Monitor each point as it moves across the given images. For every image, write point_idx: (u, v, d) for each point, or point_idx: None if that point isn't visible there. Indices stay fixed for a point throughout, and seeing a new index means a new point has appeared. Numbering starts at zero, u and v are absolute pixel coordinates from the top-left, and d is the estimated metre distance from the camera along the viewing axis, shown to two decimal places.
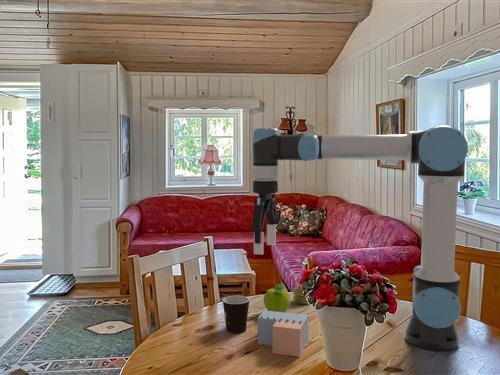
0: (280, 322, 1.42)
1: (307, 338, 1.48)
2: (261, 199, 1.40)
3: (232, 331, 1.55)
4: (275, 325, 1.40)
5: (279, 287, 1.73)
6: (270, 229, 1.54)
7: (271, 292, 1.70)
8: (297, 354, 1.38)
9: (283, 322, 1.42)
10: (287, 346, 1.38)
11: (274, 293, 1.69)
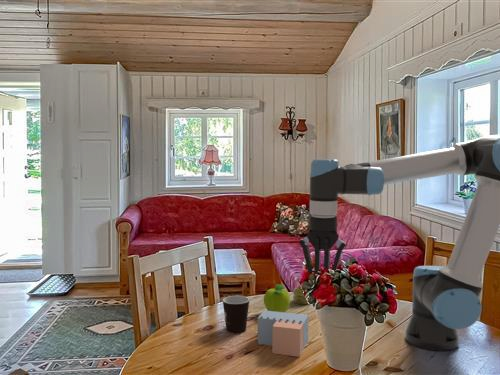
0: (280, 322, 1.42)
1: (307, 338, 1.48)
2: None
3: (232, 331, 1.55)
4: (275, 325, 1.40)
5: (279, 287, 1.73)
6: None
7: (271, 292, 1.70)
8: (297, 354, 1.38)
9: (283, 322, 1.42)
10: (287, 346, 1.38)
11: (274, 293, 1.69)
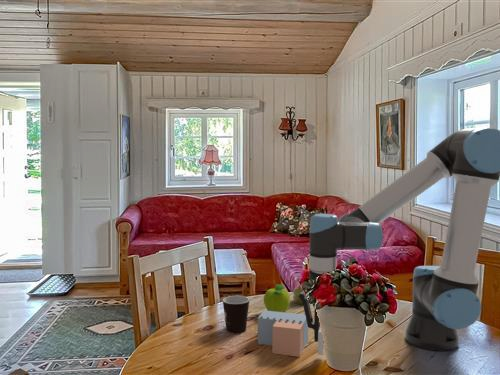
0: (280, 322, 1.42)
1: (307, 338, 1.48)
2: None
3: (232, 331, 1.55)
4: (275, 325, 1.40)
5: (279, 287, 1.73)
6: None
7: (271, 292, 1.70)
8: (297, 354, 1.38)
9: (283, 322, 1.42)
10: (287, 346, 1.38)
11: (274, 293, 1.69)
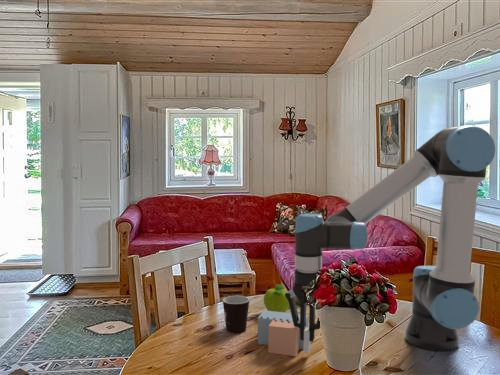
0: (276, 322, 1.43)
1: None
2: None
3: (232, 331, 1.55)
4: (271, 325, 1.40)
5: (279, 287, 1.73)
6: None
7: (271, 292, 1.70)
8: (293, 353, 1.38)
9: (279, 322, 1.42)
10: (283, 345, 1.39)
11: (274, 293, 1.69)
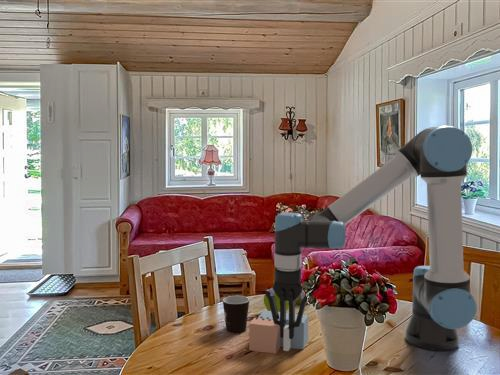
0: (257, 319, 1.44)
1: (307, 338, 1.48)
2: None
3: (232, 331, 1.55)
4: (252, 322, 1.42)
5: None
6: None
7: None
8: (273, 351, 1.40)
9: (260, 320, 1.44)
10: (264, 343, 1.41)
11: None
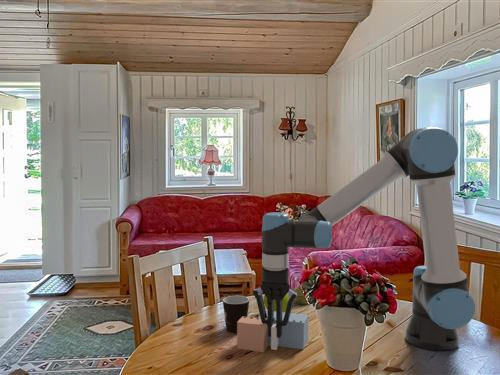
0: (245, 318, 1.45)
1: (307, 338, 1.48)
2: None
3: (232, 331, 1.55)
4: (240, 321, 1.43)
5: None
6: None
7: None
8: (261, 349, 1.41)
9: (248, 319, 1.45)
10: (251, 341, 1.42)
11: None
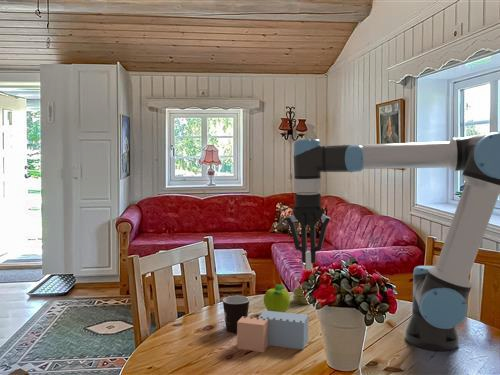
0: (245, 318, 1.45)
1: (307, 338, 1.48)
2: None
3: (232, 331, 1.55)
4: (240, 321, 1.43)
5: (279, 287, 1.73)
6: None
7: (271, 292, 1.70)
8: (261, 349, 1.41)
9: (248, 319, 1.45)
10: (251, 341, 1.42)
11: (274, 293, 1.69)
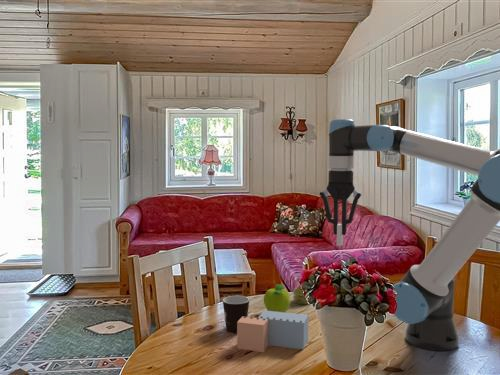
0: (245, 318, 1.45)
1: (307, 338, 1.48)
2: None
3: (232, 331, 1.55)
4: (240, 321, 1.43)
5: (279, 287, 1.73)
6: None
7: (271, 292, 1.70)
8: (261, 349, 1.41)
9: (248, 319, 1.45)
10: (251, 341, 1.42)
11: (274, 293, 1.69)
